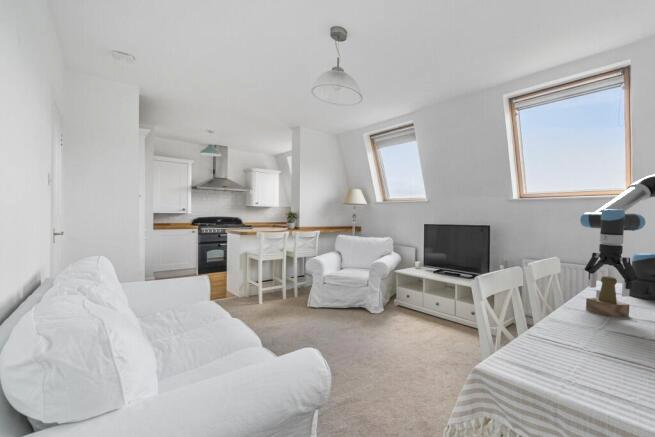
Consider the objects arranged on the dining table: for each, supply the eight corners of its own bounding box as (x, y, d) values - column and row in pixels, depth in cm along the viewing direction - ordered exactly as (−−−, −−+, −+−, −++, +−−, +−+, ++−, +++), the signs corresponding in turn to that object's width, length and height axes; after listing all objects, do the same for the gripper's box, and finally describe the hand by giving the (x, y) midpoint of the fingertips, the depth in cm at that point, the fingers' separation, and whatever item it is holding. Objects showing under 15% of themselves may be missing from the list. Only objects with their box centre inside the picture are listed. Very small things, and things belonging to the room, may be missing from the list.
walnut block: (604, 308, 140) (605, 297, 140) (628, 316, 130) (629, 304, 130) (585, 308, 138) (586, 298, 138) (609, 316, 129) (609, 305, 128)
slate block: (606, 302, 149) (607, 290, 149) (615, 305, 144) (616, 293, 144) (595, 301, 150) (596, 289, 150) (603, 304, 145) (604, 292, 145)
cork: (609, 299, 137) (610, 275, 136) (620, 303, 131) (622, 278, 130) (594, 298, 137) (596, 274, 137) (605, 303, 131) (607, 278, 131)
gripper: (576, 240, 145) (574, 284, 146) (636, 248, 120) (633, 300, 121) (589, 240, 146) (587, 283, 147) (652, 248, 121) (648, 300, 122)
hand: (608, 291), depth 134 cm, fingers open, 13 cm apart
